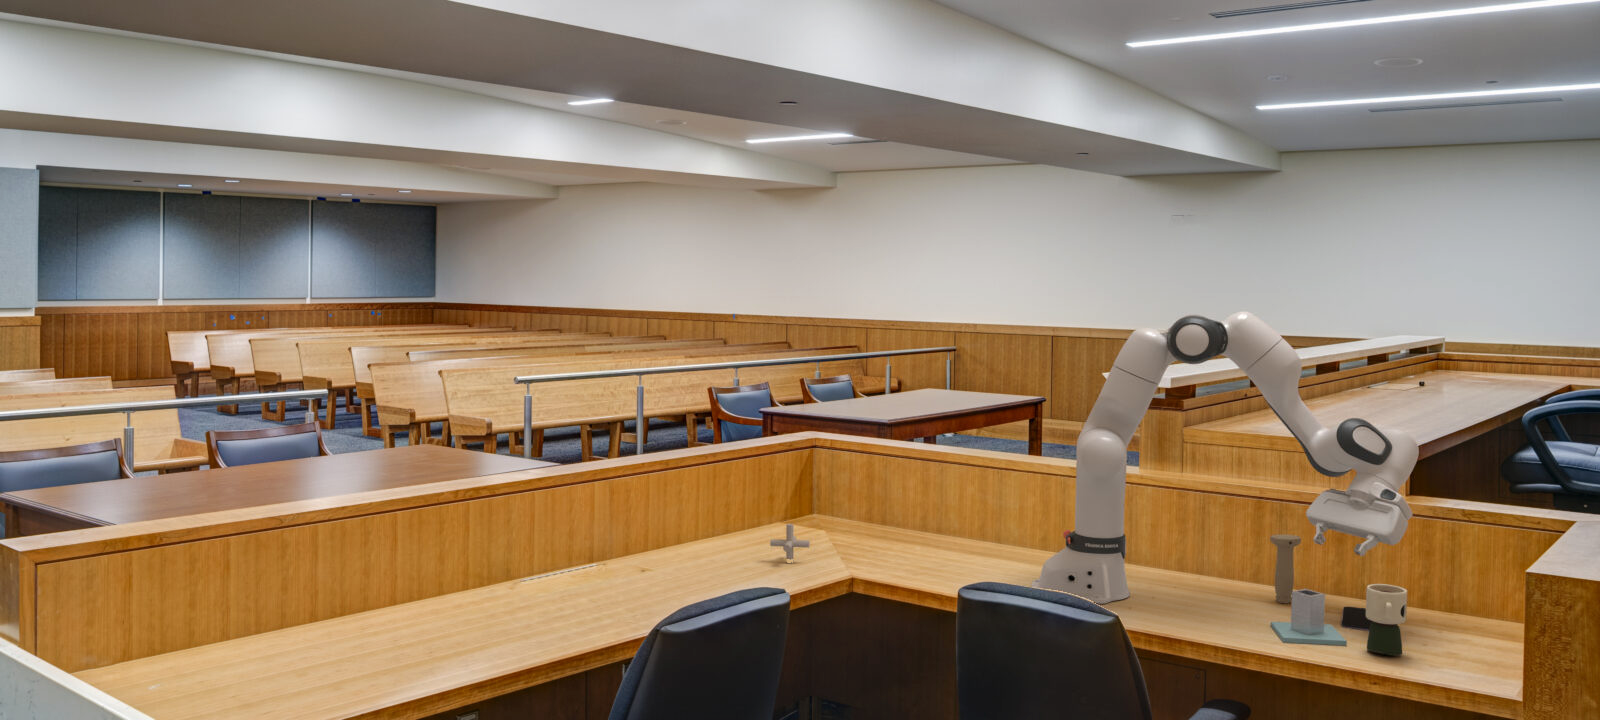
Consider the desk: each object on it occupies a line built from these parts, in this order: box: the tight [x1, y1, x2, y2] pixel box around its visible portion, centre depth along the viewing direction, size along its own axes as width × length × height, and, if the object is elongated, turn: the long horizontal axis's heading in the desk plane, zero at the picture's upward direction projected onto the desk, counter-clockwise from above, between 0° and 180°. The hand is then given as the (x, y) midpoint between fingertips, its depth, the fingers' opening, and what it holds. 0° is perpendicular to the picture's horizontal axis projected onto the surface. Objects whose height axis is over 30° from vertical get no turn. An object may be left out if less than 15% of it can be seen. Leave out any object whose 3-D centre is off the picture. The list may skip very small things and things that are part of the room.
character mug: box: [1365, 583, 1408, 656], centre depth 225 cm, size 11×7×13 cm, turn 159°
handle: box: [1270, 534, 1302, 604], centre depth 260 cm, size 5×6×15 cm
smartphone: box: [1340, 606, 1374, 632], centre depth 247 cm, size 7×1×15 cm
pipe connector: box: [769, 523, 810, 560], centre depth 295 cm, size 10×10×10 cm
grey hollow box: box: [1290, 588, 1326, 635], centre depth 236 cm, size 4×5×8 cm
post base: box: [1270, 621, 1347, 647], centre depth 236 cm, size 12×11×7 cm
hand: (1337, 548), depth 240 cm, fingers open, 8 cm apart
